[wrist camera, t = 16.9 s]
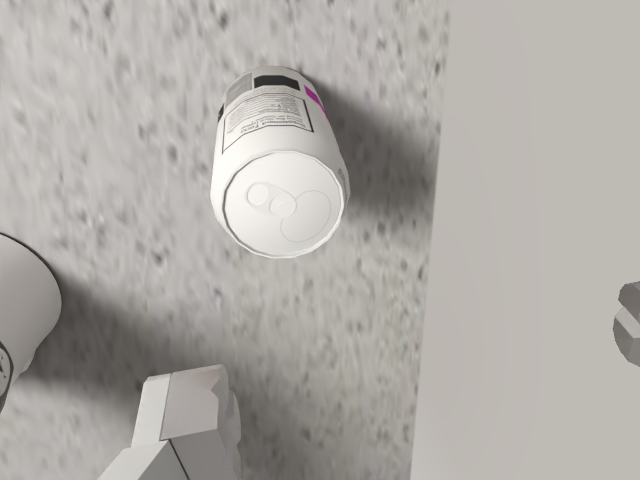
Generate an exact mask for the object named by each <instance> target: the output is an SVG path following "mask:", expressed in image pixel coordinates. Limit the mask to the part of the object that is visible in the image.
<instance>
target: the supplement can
mask: <svg viewBox="0 0 640 480" xmlns="http://www.w3.org/2000/svg"><path fill="white" fill-rule="evenodd" d="M350 194H351V193H350V185H349V176H348V171H347V168H346V165H345V163H344V160H343V157H342V155H341V152H340V149H339V147H338V144H337V141H336V139H335V136H334V133H333V131H332V128H331V125H330V123H329V120H328V117H327V115H326V112H325V109H324V107H323V104H322V101H321V99H320V98H319V96H318V94H317V92H316V90H315V88H314V87H313V85H312V84H311V83H310V82H309V81H307V80H306V79H305V78H304V77H303V76H302V75H300V74H299V73H298V72H295V71H292V70H290V69H287V68H284V67H282V66H260V67H257V68H254V69H252V70H249V71H246V72H243V73H242V74H241V75H240V76H239V77H237V78H236V79H235V80H234V81H233V82H232V83H230V84H229V85H228V87H227V89H226V91H225V93H224V95H223V97H222V99H221V100H220V106H219V114H218V124H217V134H216V144H215V154H214V164H213V174H212V184H211V194H210V198H211V202H212V205H213V209H214V212H215V216H216V218H217V220H218V221H219V222H220V224H221V225H222V226H223V227H224V229H225V230H226V231H227V233H228V234H229V235H230V236H232V237H233V238H234V240H235V241H236V242H237V243H238V244H239V245H241V246H243V247H244V248H246V249H247V250H249V251H250V252H252V253H254V254H257V255H261V256H265V257H269V258H294V257H297V256H300V255H303V254H306V253H309V252H312V251H313V250H315V249H316V248H318V247H319V246H320V245H322V244H323V243H325V242H326V241H327V240H329V238H330V237H331V235H332V234H333V233H334V231H335V230H336V228H337V227H338V226H339V224H340V220H341V219H342V218H343V216H344V215H345V212H346V209H347V205H348V201H349V197H350Z"/></svg>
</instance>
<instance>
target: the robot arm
mask: <svg viewBox="0 0 640 480" xmlns="http://www.w3.org/2000/svg"><path fill="white" fill-rule="evenodd" d="M619 301H620V303H621V304H622V305H623V306H624V307H623V308H622V309H621V310H620V312H619V313H618V314H617V315H616V316H615V319H614V326H613V331H614V336H615V341H616V343H617V345H618V347H619V349H620V351H621V353H622V354H623V355H624V356H625V358H626V359H627V360H628V361H629V362H631V363H633V364H635V365H638V366H640V281H639V282H634V283H629V284H625V285H624V286H623V287H622V289H621V290H620V294H619ZM60 312H61V295H60V291H59V287H58V285H57V282H56V280H55V278H54V277H53V275H52V273H51V272H50V271H49V269H48V268H47V267H46V265H45V264H44V263H43V262H42V261H41V260H40V259H39V258H38V257H37V256H35V255H34V254H33V253H32V252H31V251H29V250H28V249H27V248H25V247H24V246H22V245H20V244H19V243H17V242H15V241H14V240H12V239H10V238H8V237H5V236H3V235H1V234H0V413H1V411H2V409H3V407H4V404H5V400H6V397H7V393H8V392H9V390H10V389H11V387H12V386H13V384H14V382H15V381H16V379H17V378H18V376H19V374H20V373H22V372H24V371H26V370H27V368H28V367H29V365H30V364H31V362H32V360H33V358H34V355H35V351H36V349H37V347H38V346H39V345H40V343H41V342H42V341H43V340H44V338H45V337H46V336H47V335H48V334H49V333H50V332H51V331H52V329H53V328H54V327H55V325H56V323H57V321H58V319H59V316H60ZM240 439H241V421H240V412H239V407H238V403H237V399H236V396H235V393H234V391H232V390H230V389H229V376H228V373H227V371H226V368H225V366H224V365H223V364H218V365H212V366H207V367H201V368H195V369H189V370H183V371H177V372H173V373H169V374H163V375H157V376H151V377H148V378H147V380H146V381H145V383H144V385H143V390H142V395H141V400H140V405H139V410H138V415H137V420H136V425H135V430H134V435H133V440H132V445H131V447H129V448H125V449H123V450H122V451H121V452H120V454H119V455H118V456H117V457H116V458H115V459H114V461H113V462H112V463H111V464H110V465H109V466H108V468H107V469H106V470H105V471H104V472H103V473H102V475H101V476H100V477H99V478H98V479H97V480H241V456H240V453H239V450H238V448H237V444H238V442H239V441H240Z"/></svg>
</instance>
